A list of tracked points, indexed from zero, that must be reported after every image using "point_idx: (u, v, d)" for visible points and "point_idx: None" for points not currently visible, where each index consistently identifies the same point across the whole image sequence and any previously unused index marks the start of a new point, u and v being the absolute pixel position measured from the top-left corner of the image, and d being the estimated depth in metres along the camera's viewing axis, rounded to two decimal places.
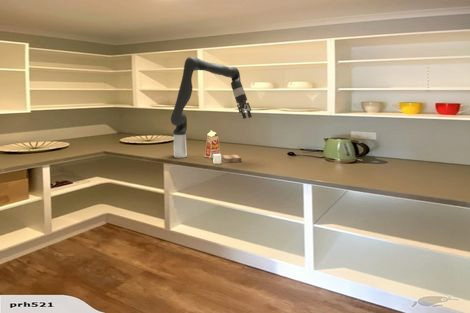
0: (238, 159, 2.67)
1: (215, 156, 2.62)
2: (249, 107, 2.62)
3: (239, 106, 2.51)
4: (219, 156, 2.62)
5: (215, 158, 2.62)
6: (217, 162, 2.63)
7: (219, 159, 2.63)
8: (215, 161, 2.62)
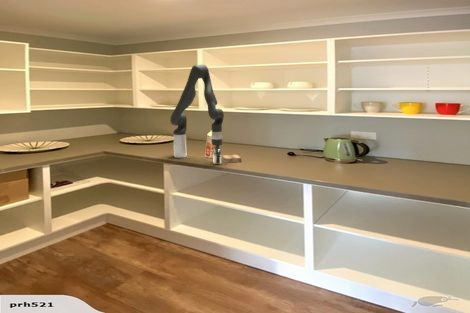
0: (238, 159, 2.67)
1: (215, 156, 2.62)
2: None
3: (219, 152, 2.58)
4: None
5: (215, 157, 2.62)
6: None
7: None
8: (215, 161, 2.62)
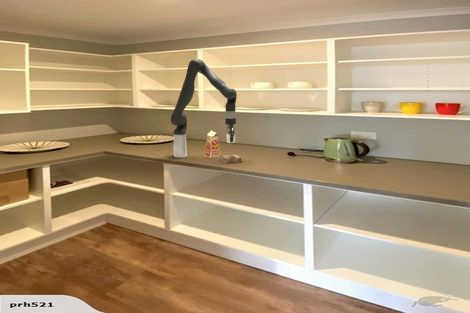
0: (238, 159, 2.67)
1: (229, 135, 2.66)
2: None
3: (233, 130, 2.62)
4: None
5: (229, 137, 2.67)
6: None
7: (233, 138, 2.67)
8: (229, 140, 2.67)
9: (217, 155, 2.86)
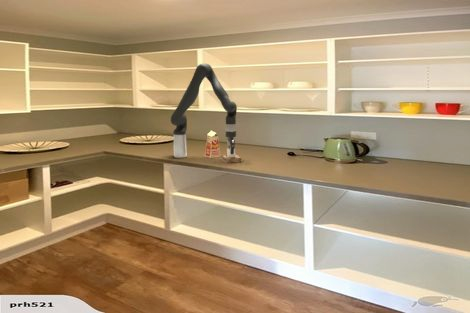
0: (238, 159, 2.67)
1: (229, 150, 2.68)
2: None
3: (233, 142, 2.64)
4: None
5: (229, 151, 2.69)
6: (231, 155, 2.70)
7: None
8: (229, 154, 2.69)
9: (217, 155, 2.86)
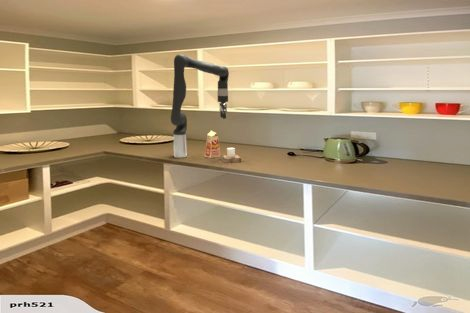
0: (238, 159, 2.67)
1: (229, 150, 2.68)
2: None
3: (225, 106, 2.65)
4: (233, 150, 2.69)
5: (229, 151, 2.69)
6: (231, 155, 2.70)
7: (233, 153, 2.69)
8: (229, 154, 2.69)
9: (217, 155, 2.86)
